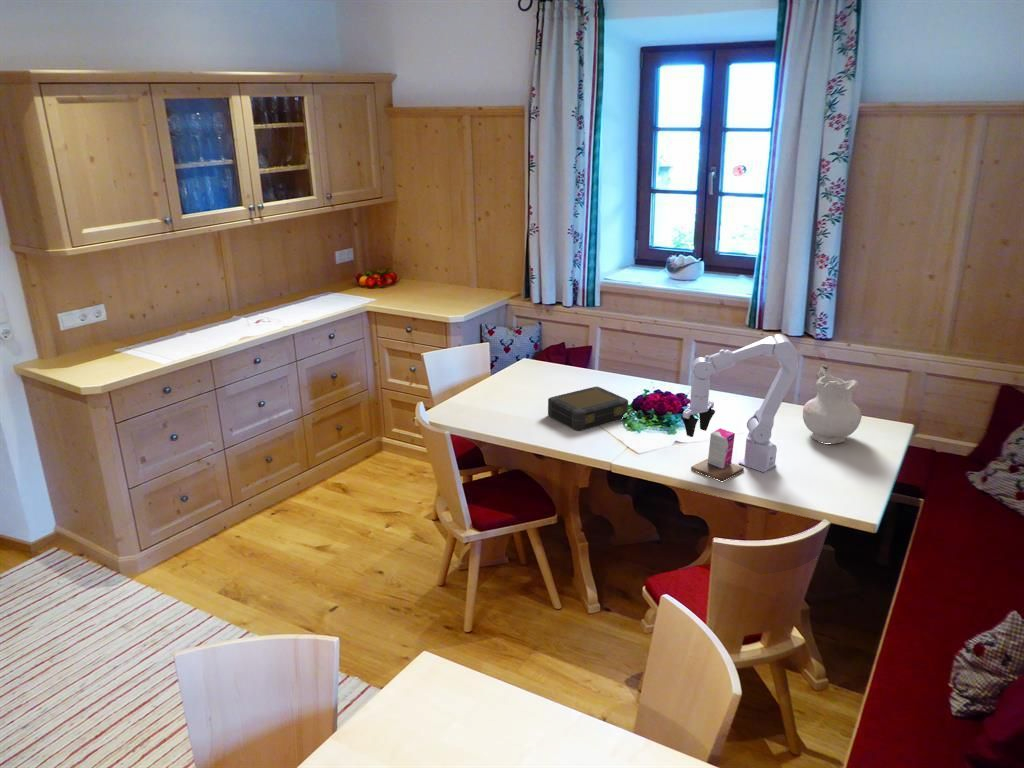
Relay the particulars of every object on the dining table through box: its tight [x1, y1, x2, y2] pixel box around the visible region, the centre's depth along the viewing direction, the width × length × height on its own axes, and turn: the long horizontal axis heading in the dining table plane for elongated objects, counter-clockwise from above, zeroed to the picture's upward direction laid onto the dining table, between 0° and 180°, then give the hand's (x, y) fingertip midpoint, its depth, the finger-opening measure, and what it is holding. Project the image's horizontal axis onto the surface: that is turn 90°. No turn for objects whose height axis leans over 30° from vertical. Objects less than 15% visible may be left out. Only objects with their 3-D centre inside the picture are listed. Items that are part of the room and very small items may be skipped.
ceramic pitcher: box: [802, 363, 863, 445], centre depth 279 cm, size 22×20×25 cm
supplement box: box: [707, 428, 736, 470], centre depth 257 cm, size 6×6×12 cm
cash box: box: [547, 386, 629, 432], centre depth 302 cm, size 25×20×8 cm
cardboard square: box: [690, 458, 745, 482], centre depth 258 cm, size 12×12×2 cm
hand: (696, 432), depth 261 cm, fingers open, 7 cm apart
